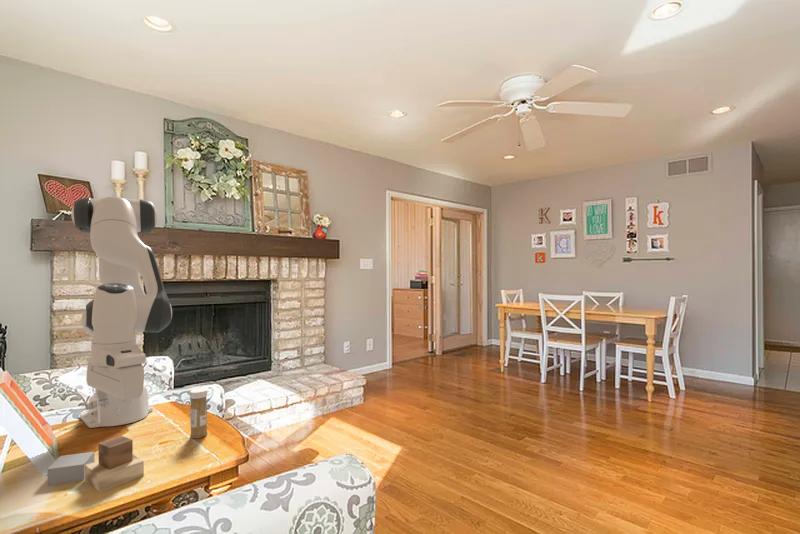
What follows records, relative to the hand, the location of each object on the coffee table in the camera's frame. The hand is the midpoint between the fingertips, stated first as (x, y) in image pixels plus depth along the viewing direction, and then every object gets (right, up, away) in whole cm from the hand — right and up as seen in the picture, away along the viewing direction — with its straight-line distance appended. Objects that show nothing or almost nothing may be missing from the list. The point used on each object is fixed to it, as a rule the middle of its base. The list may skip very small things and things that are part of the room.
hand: (112, 411), depth 101 cm
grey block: (-10, -16, +1) cm, 19 cm away
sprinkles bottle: (+9, -16, +24) cm, 30 cm away
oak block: (+1, -16, 0) cm, 16 cm away
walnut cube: (+1, -12, 0) cm, 12 cm away
